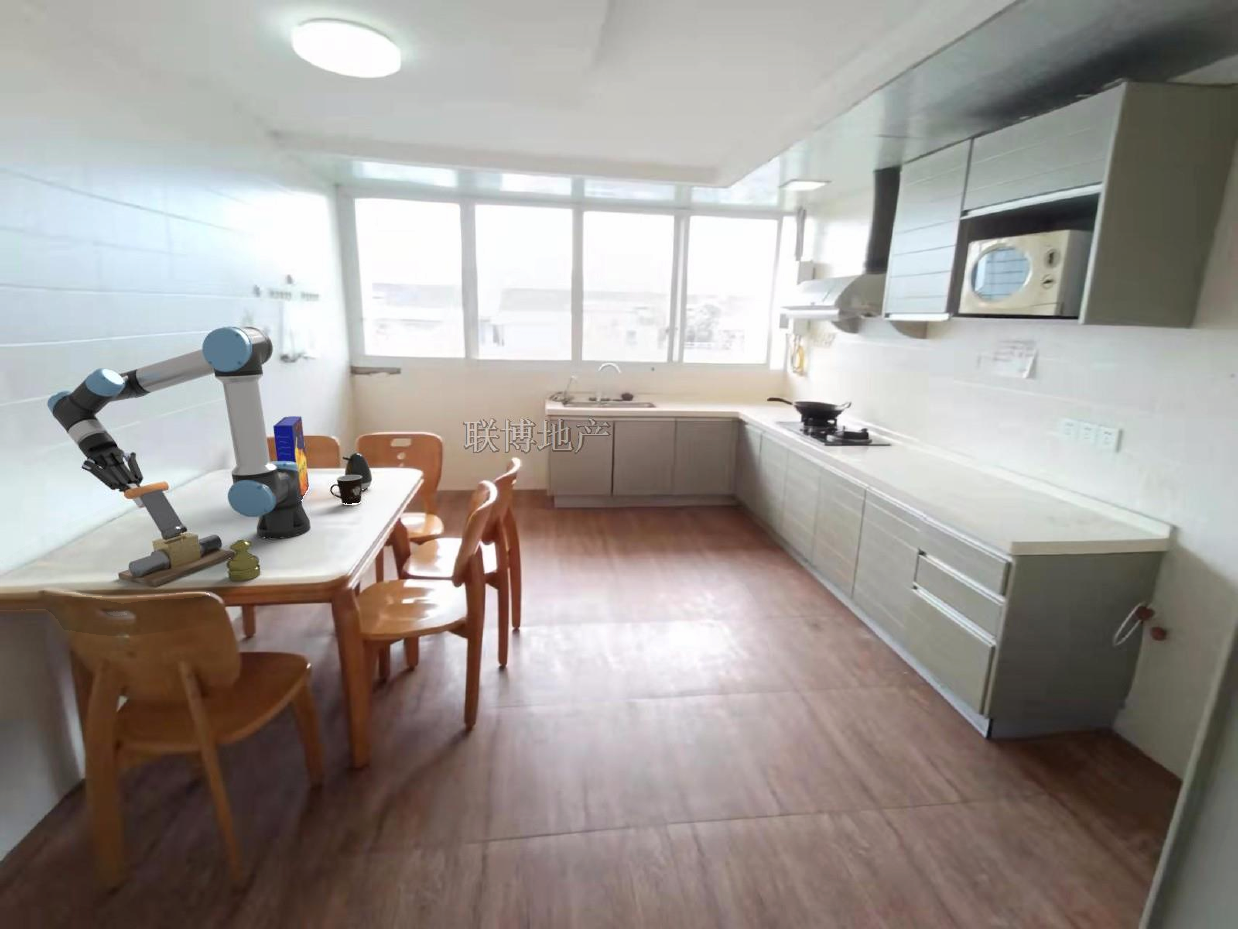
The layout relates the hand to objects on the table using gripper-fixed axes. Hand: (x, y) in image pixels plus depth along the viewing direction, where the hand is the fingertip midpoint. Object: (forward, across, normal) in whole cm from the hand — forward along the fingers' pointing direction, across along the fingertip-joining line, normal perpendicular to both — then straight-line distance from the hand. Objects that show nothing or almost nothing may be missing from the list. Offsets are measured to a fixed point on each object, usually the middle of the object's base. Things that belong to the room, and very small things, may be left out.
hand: (144, 504), depth 165 cm
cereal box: (+1, -63, -24) cm, 67 cm away
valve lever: (+13, 0, +2) cm, 14 cm away
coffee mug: (+18, -64, -6) cm, 66 cm away
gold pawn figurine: (+35, -3, +10) cm, 36 cm away
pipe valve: (+19, 0, -5) cm, 20 cm away
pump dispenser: (+10, -81, -14) cm, 83 cm away
